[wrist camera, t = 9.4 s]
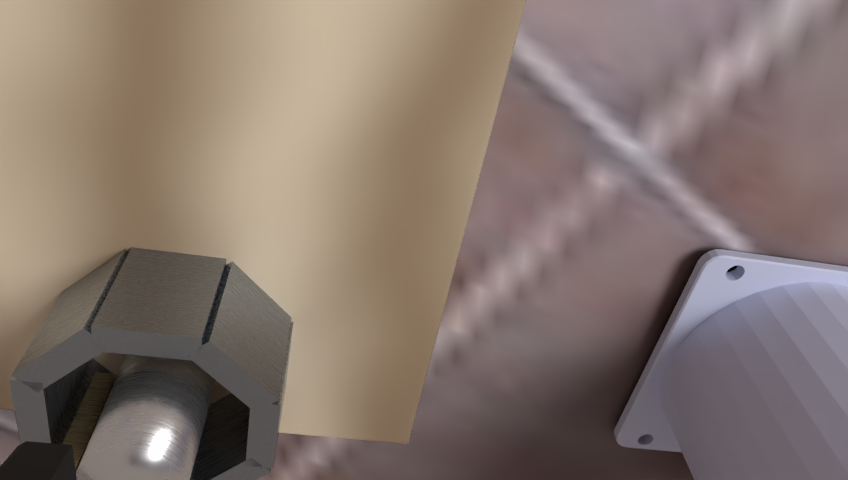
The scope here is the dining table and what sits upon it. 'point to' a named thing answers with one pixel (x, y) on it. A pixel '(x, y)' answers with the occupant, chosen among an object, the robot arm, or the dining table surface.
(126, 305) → the ring hub
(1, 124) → the board
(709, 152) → the dining table surface
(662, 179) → the dining table surface
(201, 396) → the steel post
